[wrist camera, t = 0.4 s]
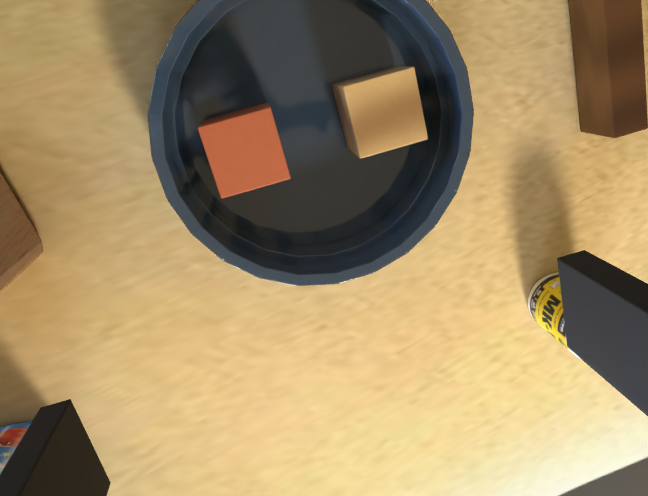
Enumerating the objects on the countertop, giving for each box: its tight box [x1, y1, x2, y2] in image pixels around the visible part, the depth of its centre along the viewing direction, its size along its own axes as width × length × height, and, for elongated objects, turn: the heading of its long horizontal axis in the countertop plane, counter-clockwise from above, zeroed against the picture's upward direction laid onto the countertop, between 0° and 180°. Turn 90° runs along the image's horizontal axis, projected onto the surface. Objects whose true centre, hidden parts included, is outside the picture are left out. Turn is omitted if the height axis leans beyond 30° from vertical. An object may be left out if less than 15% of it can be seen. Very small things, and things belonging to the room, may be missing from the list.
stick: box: [569, 0, 648, 138], centre depth 37 cm, size 12×2×4 cm, turn 14°
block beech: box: [332, 67, 428, 158], centre depth 36 cm, size 4×4×4 cm
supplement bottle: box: [528, 273, 580, 358], centre depth 41 cm, size 5×5×8 cm
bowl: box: [148, 0, 474, 286], centre depth 36 cm, size 20×20×6 cm
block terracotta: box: [198, 103, 291, 198], centre depth 35 cm, size 4×4×4 cm
